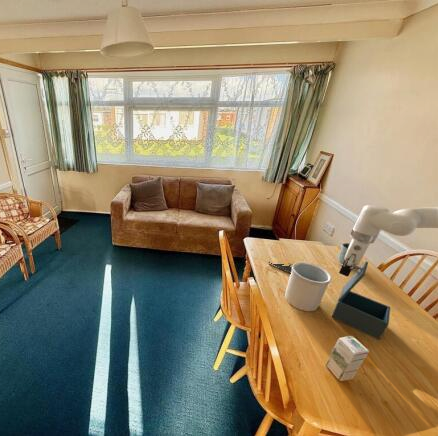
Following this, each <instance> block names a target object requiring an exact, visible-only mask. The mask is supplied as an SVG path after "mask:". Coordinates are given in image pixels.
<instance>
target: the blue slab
mask: <svg viewBox="0 0 438 436" xmlns="http://www.w3.org/2000/svg"><path fill="white" fill-rule="evenodd" d="M368 264H369V261H364V263H363V264H361V266H359V265H355V264H354V265H353V266H354V267H355V268H356V269H355V268H352V270H351V272H354V274H353V275H352V276H351V277H350V279H349V280H348V281H347V282H346V283H345V285H343V286H342V289H341V291H340V294H339V296H338V299H337V302H338V301H339V302H340V301H341V300H342V299H343V298H344V297H345V296H346V295H347V294H348V293H349V292H350V291H352V290H353V289H354V288H355V286H356V285H358V284H359V282H360V281H362V279H363V278H364V277H365V275H366V271H367V268H368ZM351 265H352V264H351Z"/></svg>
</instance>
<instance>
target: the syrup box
mask: <svg viewBox="0 0 438 436" xmlns="http://www.w3.org/2000/svg"><path fill="white" fill-rule="evenodd" d="M369 353H370V350H369V349H368V348H367V347H365V346H364V345H363V344H362V343H361V342H360V341H359V340H358V339H356V337H355V336H353V335H347V336H342V337H339V338H338V339H337V341H336V343H335V345H334V346H333V348H332V351H331V353H330V355H329V357H328V359H327V361H326V363H325V367H326V368H327V369H328V371H330V372H331V374H332V375H333V376H334V377H335V378H336V380H337V381H338V382H343V381H348V380H354V378H355V376H356V374H357V373H358V371H359V369H360V367H361V366H362V364H363V363H364V361H365V359H366V358H367V356H368V355H369Z"/></svg>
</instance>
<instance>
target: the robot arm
mask: <svg viewBox="0 0 438 436" xmlns="http://www.w3.org/2000/svg"><path fill="white" fill-rule="evenodd" d="M357 217H358V218H357V220H356V222H355V223H354V226H353V227H352V230H351V232H350V234H349V237H350V238H351V241H350V242H349V243H350V245H349V247H348V250H347V252H346V255H345V261H344V263H343V265H342V266H340V267H341V268H340V269H339V272H338V274H340V275H342V276H344V277H349V276H350V274H351V273H352V267H353V265H354V263H355V264H357V266H359V265H360V263H361V262H362V260H363V258H364V256H365V254H366V252H367V250H368V248H369V246H370V245H371V244H375V242H376V240H377V238H378V237H379V234H380V233H381V231H384V232H386V233H388V234H390V235H392V236H393V235H394V236H398V237H405V236H408V235H411V234H412V233H413V232H415V231H416V229H438V206H433V207H430V206H429V207H413V208H402V209H398V210H395V211H393V212H390V210H389V209H388V208H386V207H384V206H382V205H381V206H380V205H378V204H367V205H364V206H363V207H362V209H361V211H360V213H359V215H358V216H357ZM351 264H352V265H351Z"/></svg>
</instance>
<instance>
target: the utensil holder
mask: <svg viewBox="0 0 438 436" xmlns="http://www.w3.org/2000/svg"><path fill="white" fill-rule="evenodd" d="M292 265H293V266H292V271H291V274H290V273H289V278H288V281H287V284H286V288H285V292H284V293H285V294H284V297H285V300H286V301H287V302H288V303H289V304H290V305H291V306H292V307H294V308H296V309H298V310H301V311H304V312H314V311H316V310H317V309H318V308H319V306H320V303H321V301H322V300H323V297H324V295H325V293H326V290H327V288H328V286H329V284H330V283H331V281H332V275H331V274H330V272H329V271H328V270H326V269H324V268H323V267H321V266H319V265H316V264H315V263H311V262H304V261H299V262H295V263H293V264H292Z"/></svg>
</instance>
